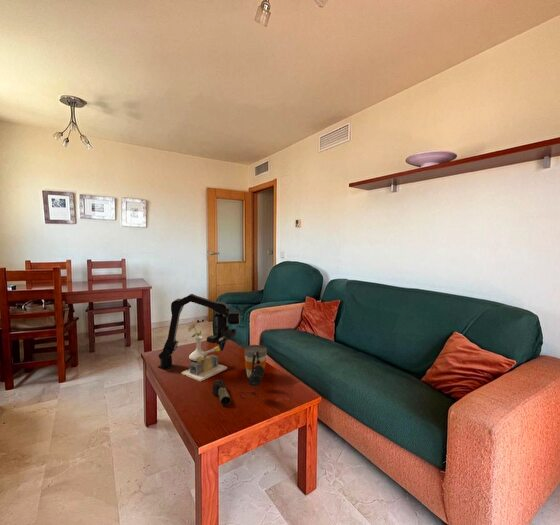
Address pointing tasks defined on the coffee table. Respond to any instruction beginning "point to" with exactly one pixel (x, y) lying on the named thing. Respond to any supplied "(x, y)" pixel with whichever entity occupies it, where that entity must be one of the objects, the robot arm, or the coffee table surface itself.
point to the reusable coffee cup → (249, 356)
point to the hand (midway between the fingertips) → (221, 350)
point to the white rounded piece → (198, 338)
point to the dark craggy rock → (221, 392)
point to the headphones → (255, 372)
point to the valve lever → (210, 351)
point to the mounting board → (205, 373)
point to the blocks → (203, 364)
